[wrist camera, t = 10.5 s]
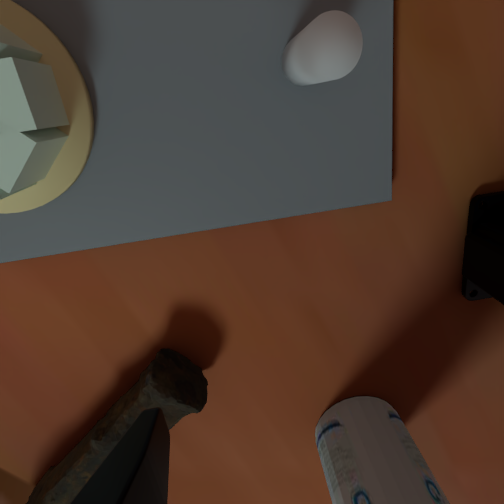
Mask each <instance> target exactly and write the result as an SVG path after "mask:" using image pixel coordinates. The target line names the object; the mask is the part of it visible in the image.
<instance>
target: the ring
mask: <svg viewBox="0 0 504 504" xmlns="http://www.w3.org/2000/svg"><path fill="white" fill-rule="evenodd" d="M41 56H42V53H40V52H39V51H38V50H36V49H35V48H33V47H32V46H31V45H29V44H28V43H26V42H25V41H24V40H22V39H21V38H20V37H18V36H17V35H15V34H14V33H13V32H11V31H10V30H8V29H7V28H6V27H4V26H3V25H1V24H0V200H1V199H3V198H6V197H8V196H10V195H12V194H15V193H17V192H19V191H21V190H24V189H26V188H28V187H31V186H33V185H35V184H37V183H36V182H38V181H40V180H42V179H45V177H46V175H47V174H48V172H49V170H50V168H51V167H52V165H53V163H54V161H55V159H56V158H57V156H58V154H59V152H60V151H61V149H62V147H63V145H64V143H65V142H66V140H67V138H68V135H67V134H65V133H64V132H62V131H61V130H59V129H58V128H56V127H57V126H64V125H70V124H69V121H68V118H67V115H66V112H65V109H64V105H63V102H62V99H61V96H60V93H59V90H58V86H57V83H56V80H55V77H54V74H53V71H52V67H51V65H46V64H42V63H38V62H39V60H40V58H41Z"/></svg>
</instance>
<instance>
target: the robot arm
mask: <svg viewBox="0 0 504 504" xmlns="http://www.w3.org/2000/svg"><path fill="white" fill-rule="evenodd" d="M482 201H483V204H482V206H481V207H479V204H480V203H481V202H482ZM462 275H463V280H462V291H461V292H462V295H463V296H464V297H465V298H466V299H467V300H470V301H473V300H479V299H485V298H492V297H493V298H495V299H496V300H498V301H499V302H500V303H502V304H503V305H504V191H500V192H494V193H488V194H481V195H477V196H475V197H474V198H473V199H472V200H471V202H470V206H469V216H468V227H467V235H466V237H465V247H464V258H463V269H462ZM472 290H473V292H472V293H470V292H471V291H472ZM169 452H170V434H169V430H168V426H167V423H166V420H165V417H164V414H163V411H162V409H161V408H160V407H155V408H150V409H145V410H143V411H142V412H141V413H140V415H139V416H138V417H137V418H136V420H135V421H134V422H133V424H132V425H131V426H130V427H129V429H128V430H127V431H126V432H125V434H124V435H123V436H122V438H121V439H120V440H119V441H118V443H117V444H116V445H115V447H114V448H113V449H112V450H111V452H110V453H109V454H108V456H107V457H106V458H105V459H104V461H103V462H102V463H101V465H100V466H99V467H98V468H97V470H96V471H95V472H94V473H93V475H92V476H91V477H90V479H89V480H88V481H87V482H86V484H85V485H84V486H83V488H82V489H81V490H80V491H79V493H78V494H77V495H76V497H75V498H74V499H73V500H72V502H71V503H70V504H167V497H168V474H169Z"/></svg>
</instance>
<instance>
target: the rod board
mask: <svg viewBox="0 0 504 504" xmlns="http://www.w3.org/2000/svg"><path fill="white" fill-rule="evenodd" d="M0 24H1V25H3V26H4V27H6V28H7V29H8V30H10V31H11V32H13V33H14V34H15V35H17V36H18V37H20V38H21V39H22V40H24V41H25V42H26V43H28V44H29V45H31V46H32V47H33V48H35V49H36V50H38V51H39V52H40V53H42V56H41V58H40V60H39V62H38V63H42V64H46V65H51V67H52V71H53V74H54V77H55V80H56V83H57V86H58V90H59V93H60V96H61V99H62V102H63V105H64V109H65V112H66V115H67V118H68V121H69V124H70V125H64V126H57V127H56V128H58V129H59V130H61V131H62V132H64V133H65V134H67V135H68V138H67V140H66V142H65V143H64V145H63V147H62V149H61V151H60V152H59V154H58V156H57V158H56V159H55V161H54V163H53V165H52V167H51V168H50V170H49V172H48V174H47V175H46V177H45V179H42V180H40V181H38V182H36V183H37V184H35V185H33V186H31V187H28V188H26V189H24V190H21V191H19V192H17V193H15V194H12V195H10V196H8V197H6V198H3V199H1V200H0V263H4V262H10V261H16V260H23V259H29V258H35V257H41V256H48V255H54V254H60V253H66V252H72V251H79V250H85V249H91V248H97V247H104V246H110V245H116V244H122V243H129V242H135V241H141V240H147V239H154V238H160V237H166V236H172V235H178V234H185V233H191V232H197V231H203V230H210V229H216V228H222V227H228V226H235V225H241V224H247V223H253V222H260V221H266V220H272V219H278V218H284V217H291V216H297V215H303V214H309V213H316V212H322V211H328V210H334V209H341V208H347V207H353V206H359V205H366V204H372V203H378V202H384V201H390V200H392V99H393V0H0Z"/></svg>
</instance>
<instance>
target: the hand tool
mask: <svg viewBox="0 0 504 504" xmlns="http://www.w3.org/2000/svg"><path fill="white" fill-rule="evenodd" d="M207 385H208V382H207V379H206V378H205V377H204V376H203V373H202V370H201V368H199V367H198V366H196V365H195V364H193V363H192V362H191V361H190V360H189V359H187V358H186V357H185V356H183V355H181V354H179V353H177V352H175V351H172V350H170V349H161V350H160V351H159V352H158V353H157V355H156V358H155V360H153V361H151V363H150V365H149V366H148V367H147V369H146V370H144V371H143V372H142V373H141V374H140V379H139V381H138V382H137V383H136V384H135V385H134V386H133V387H132V388H131V389H130V390H129V391H128V392H127V393H126V394H124V395H123V396H122V397H121V398H120V399H119V400H118V401H117V402H116V403H115V404H114V405H113V406H112V407H111V408H110V410H109V411H108V412H107V413H106V414H107V415H106V416H105V417H104V418H103V419H101V420H99V421H98V422H97V424H96V425H95V426H94V427H93V428H92V429H91V430H90V432H89V433H88V434H87V435H86V436H85V437H84V438H83V439H82V440H81V441H80V442H79V443H78V444H77V445H76V446H75V448H74V449H73V450H72V451H71V452H70V453H68V455H67V456H66V457H65V458H64V459H63V460H62V461H61V462H60V463H59V464H58V465H57V466H53V467H51V468H50V469H49V470H48V471H47V472H46V473H45V475H44V476H43V477H42V479H41V480H40V481H39V483H38V484H37V485H36V487H35V488H34V490H33V492H32V494H31V495H30V496H29V500H28V502H27V503H26V504H70V503H71V502H72V500H73V499H74V498H75V497H76V495H77V494H78V493H79V491H80V490H81V489H82V488H83V486H84V485H85V484H86V482H87V481H88V480H89V479H90V477H91V476H92V475H93V473H94V472H95V471H96V470H97V468H98V467H99V466H100V465H101V463H102V462H103V461H104V459H105V458H106V457H107V456H108V454H109V453H110V452H111V450H112V449H113V448H114V447H115V445H116V444H117V443H118V441H119V440H120V439H121V438H122V436H123V435H124V434H125V432H126V431H127V430H128V429H129V427H130V426H131V425H132V424H133V422H134V421H135V420H136V418H137V417H138V416H139V415H140V413H141V412H142V411H143V410H145V409H150V408H155V407H160V408H161V409H162V411H163V414H164V417H165V420H166V423H167V426H168V430H170V429H171V428H172V427H173V426H175V424H176V423H177V422H178V421H179V420H180V419H181V418H183V417H184V416H186V415H188V414H190V413H198V412H200V411H201V410H202V409H203V408H204V405H205V404H206V403H207Z"/></svg>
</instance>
